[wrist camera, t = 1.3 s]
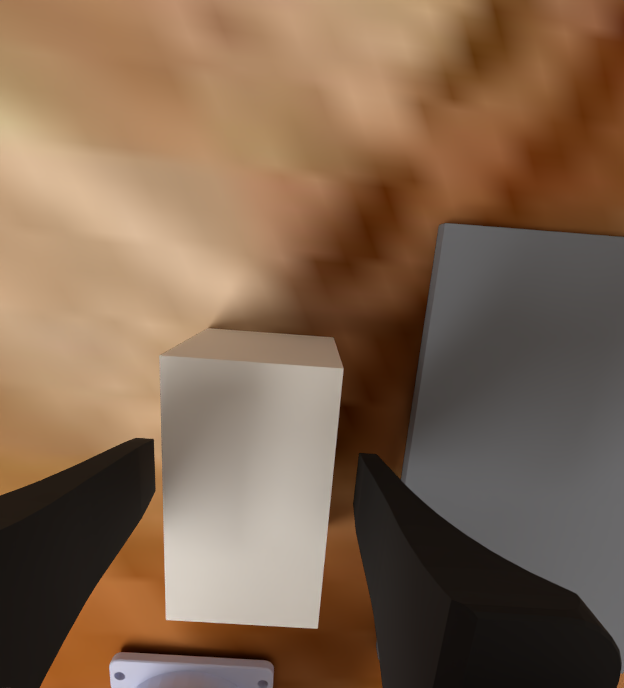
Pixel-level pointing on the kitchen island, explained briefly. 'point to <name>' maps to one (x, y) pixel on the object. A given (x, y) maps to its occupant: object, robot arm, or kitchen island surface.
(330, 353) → the block
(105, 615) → the kitchen island surface
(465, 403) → the mat
